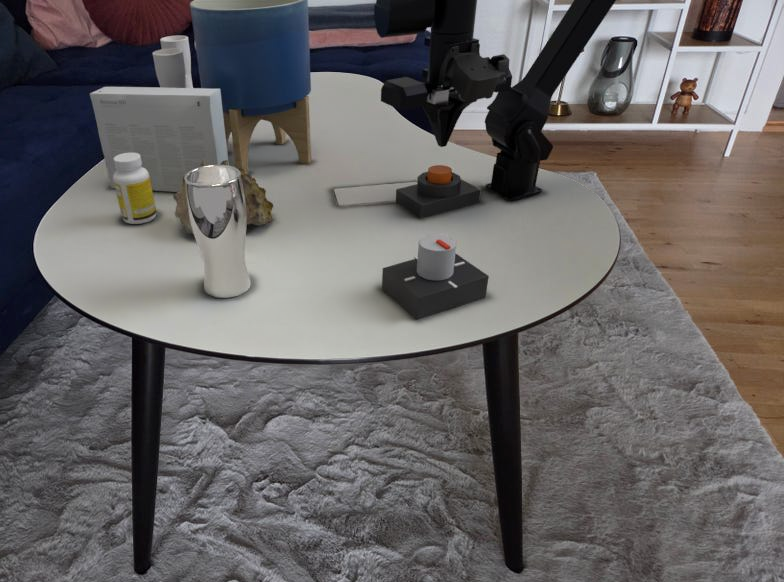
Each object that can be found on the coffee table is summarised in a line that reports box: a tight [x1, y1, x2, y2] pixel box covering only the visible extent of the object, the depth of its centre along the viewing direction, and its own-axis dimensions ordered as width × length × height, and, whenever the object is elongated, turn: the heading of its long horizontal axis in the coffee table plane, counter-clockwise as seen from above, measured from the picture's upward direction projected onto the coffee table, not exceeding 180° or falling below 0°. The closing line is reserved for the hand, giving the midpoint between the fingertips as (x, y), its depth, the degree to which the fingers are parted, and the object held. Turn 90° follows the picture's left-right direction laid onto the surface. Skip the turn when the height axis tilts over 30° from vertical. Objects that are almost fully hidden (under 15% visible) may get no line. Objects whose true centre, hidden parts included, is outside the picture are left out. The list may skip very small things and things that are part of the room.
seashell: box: [172, 159, 274, 235], centre depth 94 cm, size 11×14×10 cm
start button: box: [427, 164, 453, 184], centre depth 97 cm, size 4×4×2 cm
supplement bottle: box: [113, 153, 157, 225], centre depth 98 cm, size 5×5×10 cm
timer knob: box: [417, 233, 457, 281], centre depth 76 cm, size 4×4×4 cm
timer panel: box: [381, 253, 490, 320], centre depth 78 cm, size 10×9×3 cm
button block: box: [395, 171, 482, 220], centre depth 99 cm, size 11×7×4 cm, turn 116°
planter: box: [189, 0, 312, 174], centre depth 111 cm, size 19×19×26 cm
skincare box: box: [89, 86, 230, 193], centre depth 106 cm, size 21×5×16 cm, turn 75°
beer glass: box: [184, 164, 252, 299], centre depth 78 cm, size 7×7×15 cm
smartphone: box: [331, 180, 417, 208], centre depth 104 cm, size 7×1×15 cm
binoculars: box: [152, 35, 194, 88], centre depth 123 cm, size 17×5×18 cm, turn 4°
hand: (441, 146), depth 95 cm, fingers closed
